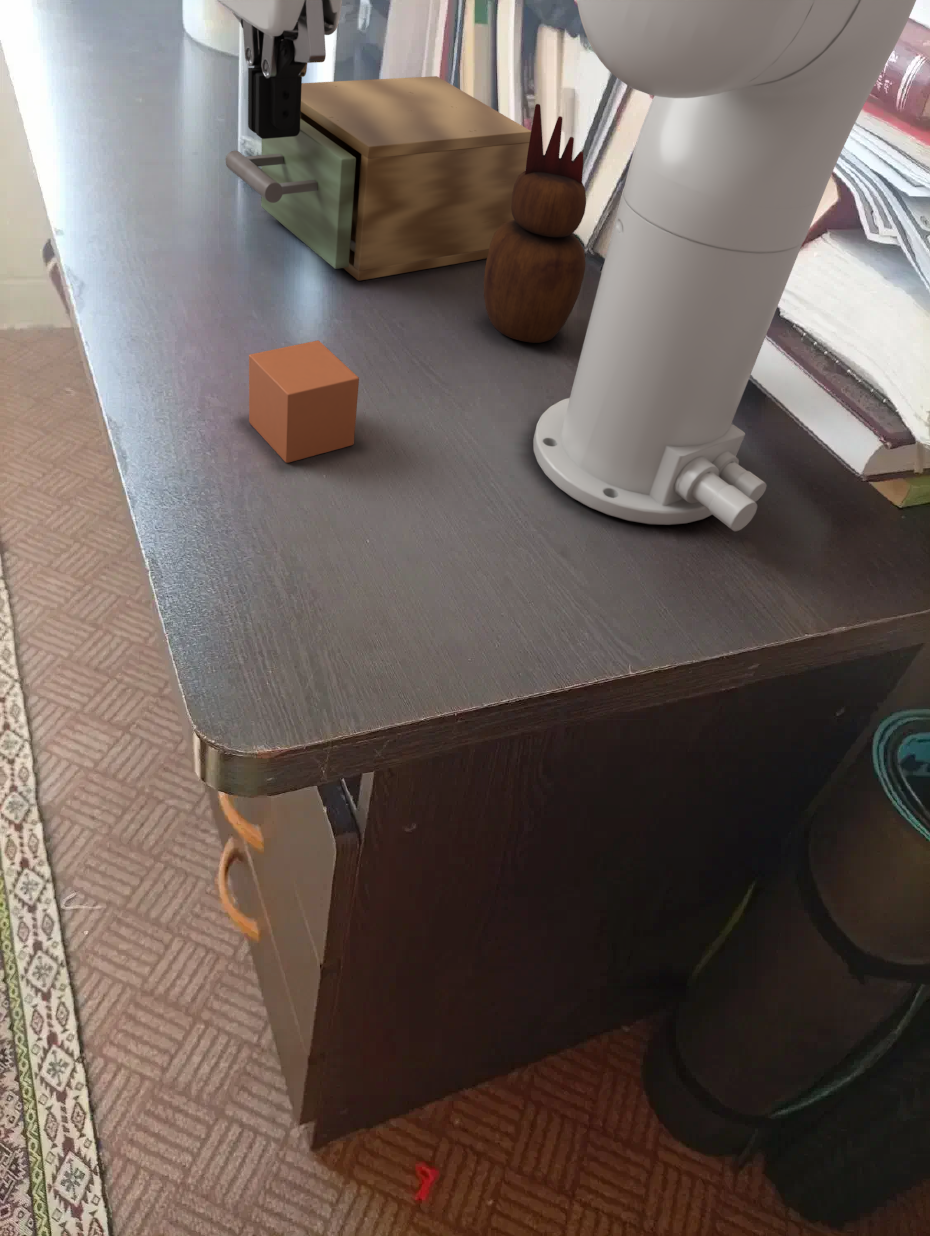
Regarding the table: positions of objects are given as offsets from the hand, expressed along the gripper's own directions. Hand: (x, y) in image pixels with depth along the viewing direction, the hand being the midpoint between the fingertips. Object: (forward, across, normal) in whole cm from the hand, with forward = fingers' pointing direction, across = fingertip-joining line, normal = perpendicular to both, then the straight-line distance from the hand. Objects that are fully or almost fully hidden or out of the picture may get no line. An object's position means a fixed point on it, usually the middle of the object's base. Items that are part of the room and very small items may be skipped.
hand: (274, 132), depth 68 cm
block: (+8, +22, -10) cm, 26 cm away
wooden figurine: (+8, +17, +11) cm, 22 cm away
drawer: (+8, 0, +6) cm, 10 cm away
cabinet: (+8, 0, +11) cm, 14 cm away
